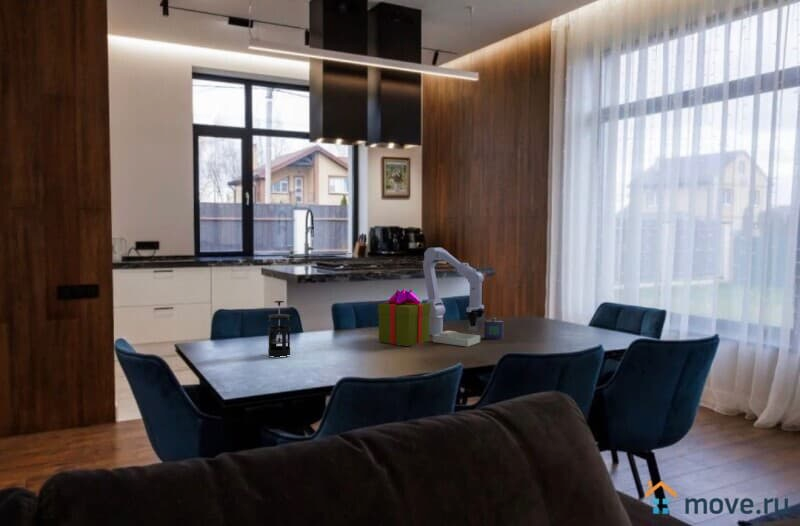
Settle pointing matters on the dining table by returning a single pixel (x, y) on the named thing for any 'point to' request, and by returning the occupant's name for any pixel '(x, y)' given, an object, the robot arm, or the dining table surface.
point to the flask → (493, 329)
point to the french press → (273, 330)
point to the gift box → (403, 319)
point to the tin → (476, 324)
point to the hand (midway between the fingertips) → (475, 325)
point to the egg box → (449, 334)
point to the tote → (458, 339)
